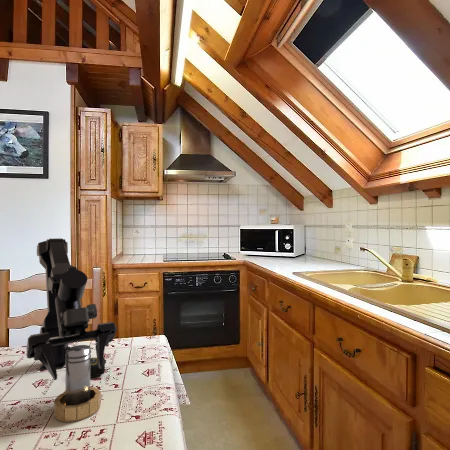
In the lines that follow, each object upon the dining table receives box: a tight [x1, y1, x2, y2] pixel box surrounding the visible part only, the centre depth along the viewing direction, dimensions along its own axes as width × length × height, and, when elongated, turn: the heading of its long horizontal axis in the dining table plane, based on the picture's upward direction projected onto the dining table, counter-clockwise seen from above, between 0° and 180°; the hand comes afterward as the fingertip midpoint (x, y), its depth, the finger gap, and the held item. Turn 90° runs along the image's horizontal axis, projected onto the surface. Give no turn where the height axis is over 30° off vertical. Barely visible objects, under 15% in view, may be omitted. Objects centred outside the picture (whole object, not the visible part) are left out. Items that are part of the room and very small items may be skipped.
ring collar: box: [53, 386, 102, 423], centre depth 70 cm, size 9×9×3 cm
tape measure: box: [90, 357, 107, 378], centre depth 89 cm, size 7×7×4 cm
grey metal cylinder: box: [64, 344, 92, 406], centre depth 70 cm, size 5×5×13 cm
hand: (79, 373), depth 70 cm, fingers open, 9 cm apart
